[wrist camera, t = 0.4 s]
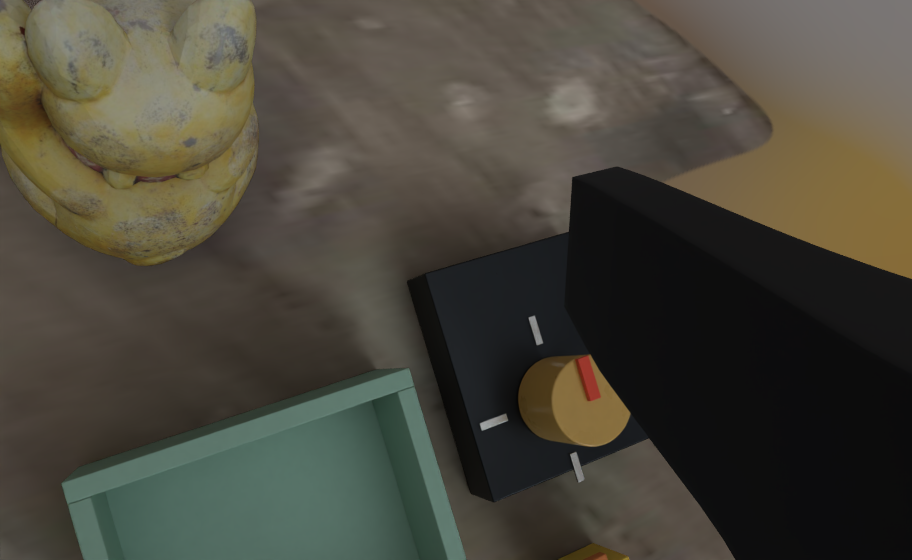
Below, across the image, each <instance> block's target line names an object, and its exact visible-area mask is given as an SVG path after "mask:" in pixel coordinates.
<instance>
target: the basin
mask: <svg viewBox="0 0 912 560" xmlns="http://www.w3.org/2000/svg"><path fill="white" fill-rule="evenodd" d="M61 485H62V488H63V492H64V495H65V499H66V502H67V504H68V509H69V512H70V515H71V519H72V522H73V526H74V529H75V532H76V536H77V539H78V543H79V546H80V550H81V553H82V556H83V560H467V559H466V556H465V553H464V549H463V546H462V543H461V539H460V536H459V533H458V529H457V526H456V523H455V519H454V516H453V513H452V509H451V506H450V503H449V499H448V496H447V493H446V489H445V486H444V483H443V479H442V476H441V473H440V470H439V466H438V463H437V460H436V456H435V453H434V450H433V446H432V443H431V440H430V436H429V433H428V430H427V426H426V423H425V420H424V416H423V413H422V410H421V406H420V403H419V400H418V396H417V393H416V390H415V387H414V383H413V380H412V376H411V373H410V370H409V368H395V369H377V370H373V371H370V372H367V373H364V374H361V375H358V376H355V377H352V378H349V379H346V380H343V381H340V382H337V383H334V384H331V385H328V386H325V387H321V388H318V389H315V390H312V391H309V392H306V393H303V394H300V395H297V396H294V397H291V398H288V399H285V400H282V401H279V402H276V403H273V404H270V405H266V406H263V407H260V408H257V409H254V410H251V411H248V412H245V413H242V414H239V415H236V416H233V417H230V418H227V419H224V420H221V421H218V422H215V423H212V424H208V425H205V426H202V427H199V428H196V429H193V430H190V431H187V432H184V433H181V434H178V435H175V436H172V437H169V438H166V439H163V440H160V441H157V442H154V443H150V444H147V445H144V446H141V447H138V448H135V449H132V450H129V451H126V452H123V453H120V454H117V455H114V456H111V457H108V458H105V459H102V460H99V461H96V462H92V463H89V464H86V465H83V466H80V467H78V468H77V469H76V470H75V471H74V472H73V473H72V474H71V475H69V476H68V477H67V478H66V479H65V480H64V481H63V482H62V483H61Z"/></svg>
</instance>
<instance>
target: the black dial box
mask: <svg viewBox="0 0 912 560" xmlns="http://www.w3.org/2000/svg"><path fill="white" fill-rule="evenodd" d="M568 239H569V232H567V233H563V234H560V235H556V236H553V237H549V238H546V239H542V240H539V241H535V242H532V243H528V244H525V245H522V246H518V247H515V248H511V249H508V250H504V251H501V252H497V253H494V254H490V255H487V256H483V257H480V258H476V259H473V260H469V261H466V262H463V263H459V264H456V265H452V266H449V267H445V268H442V269H438V270H435V271H431V272H428V273H425V274H422V275H420V276H418V277H415V278H413V279H410V280H408V281H407V283H408V286H409V290H410V293H411V296H412V300H413V303H414V306H415V310H416V313H417V316H418V320H419V323H420V326H421V330H422V333H423V336H424V340H425V343H426V346H427V349H428V353H429V356H430V359H431V363H432V366H433V369H434V373H435V376H436V379H437V383H438V386H439V389H440V393H441V396H442V399H443V403H444V406H445V409H446V412H447V416H448V419H449V422H450V426H451V429H452V432H453V436H454V439H455V442H456V446H457V449H458V452H459V456H460V459H461V462H462V465H463V469H464V472H465V475H466V479H467V482H468V485H469V489H470V492H471V494H473V495H476V496H478V497H481V498H484V499H486V500H489V501H492V502H496V501H499V500H501V499H504V498H506V497H508V496H511V495H513V494H516V493H518V492H520V491H523V490H525V489H528V488H530V487H533V486H535V485H537V484H540V483H542V482H545V481H547V480H549V479H552V478H554V477H557V476H559V475H562V474H564V473H566V472H569V471H571V470H574V473H575V476H576V480H577V482H581V481H583V480H585V479H584V475H583V472H582V469H581V466H583V465H586V464H588V463H590V462H593V461H595V460H598V459H600V458H603V457H605V456H607V455H610V454H612V453H615V452H617V451H619V450H622V449H624V448H627V447H629V446H631V445H634V444H636V443H639V442H641V441H644V440H646V439H648V438H649V437H648V436H647V434H646V433H645V432H644V430H643V429H642V428H641V426H640V425H639V424H638V422H637V421H636V420H635V419H634V417H633V416H632V414H631V413H630V417H629V420H628V422H627V424H626V426H625V428H624V429H623V431H622V432H621V433H620V434H619V435H618V436H617V437H616V438H615V439H613V440H612V441H611V442H609V443H607V444H604V445H601V446H596V447H588V446H581V445H575V444H568V443H562V442H556V441H549V440H546V439H543V438H541V437H539V436H537V435H536V434H535V433H533V432H532V431H531V430H530V429H529V428H528V426H527V425H526V423H525V422H524V420H523V418H522V416H521V413H520V409H519V403H518V394H519V388H520V384H521V381H522V379H523V377H524V375H525V374H526V372H527V371H528V370H529V369H530V367H531V366H533V365H534V364H535V363H536V362H538V361H540V360H542V359H544V358H548V357H555V356H571V355H587V354H590V353H589V352H588V350H587V348H586V346H585V345H584V343H583V341H582V339H581V337H580V335H579V333H578V332H577V330H576V328H575V326H574V324H573V322H572V320H571V318H570V316H569V314H568V313H567V311H566V309H565V307H564V301H565V286H566V270H567V255H568Z"/></svg>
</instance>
